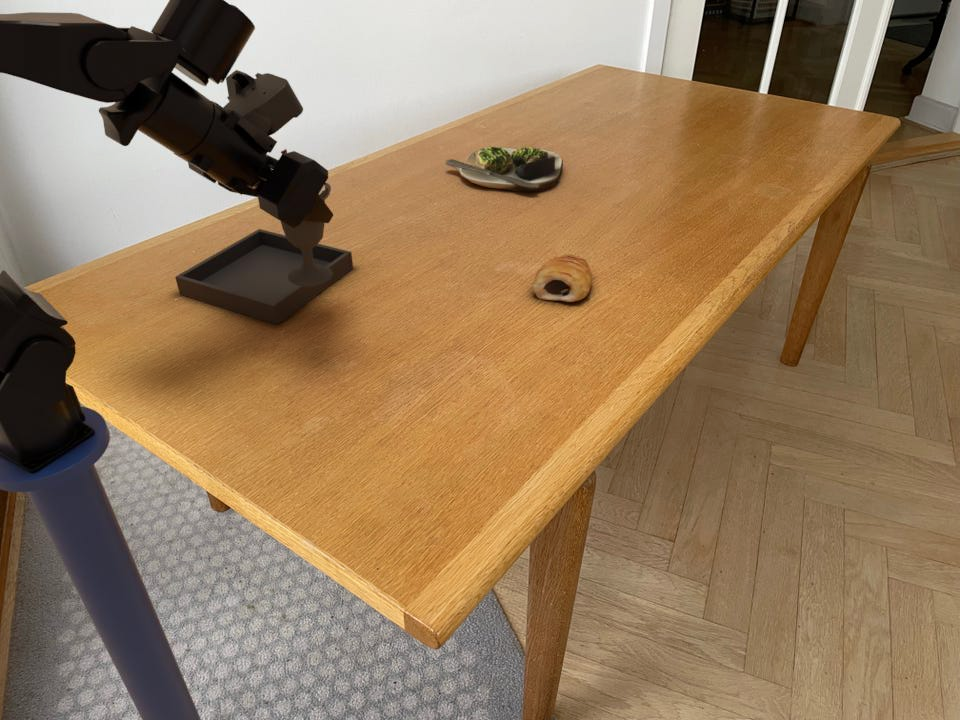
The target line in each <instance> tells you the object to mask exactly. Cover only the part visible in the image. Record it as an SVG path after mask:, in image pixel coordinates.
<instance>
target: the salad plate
mask: <svg viewBox="0 0 960 720" xmlns="http://www.w3.org/2000/svg"><path fill="white" fill-rule="evenodd" d="M444 164H445V165H446V166H448V167H450V168H453V169H455V170H456V171H458V172H459V175H460V176H461V177H462V178H464V179H465V180H467V181H469V182H470V183H473V184H475V185H478V186H481V187H482V188H483V187H484V188H488V189H497V190H505V191H512V192H527V193H533V192H541V191H545V190H548V189H551V188H552V187H553V186H554V185H555V184H556V183H557V182H558V180H559V178H560V175H561V171H562V169H563V166H564V160H563V158H562V156H561V155H559V154H558V153H557V152H553V151H550V150H547V149H546V150H545V149H541V148H536V147H532V146H529V148H528V147H526V146H524V147H521V148H512V147H511V148H509V147H501V146H500V147H499V146H490V145H488V146H486V147H482V148H479V149H476V150H473V151H472V152H470V153H469V155H468V156H467V157H466V159H465V161H464V162H462V161H459V160H456V159H452V158H449V159H446V160H445V163H444Z"/></svg>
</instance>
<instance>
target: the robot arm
mask: <svg viewBox="0 0 960 720" xmlns="http://www.w3.org/2000/svg"><path fill="white" fill-rule="evenodd" d="M255 30H256V25H255V24H254V22H253V21H252V20H251V18H249V17H248V16H247V15H246V14H245V12H243V11H242V10H241V9H240V8H238V7H237V6H236V5H233V4H232V3H231V4H230V3H229V2H227V1H226V0H168V2H167V3H166V6H165V7H164V8H163V10H162V12H161V14H160V16H159V17H158V18H157V21H156V22H155V24H154V25H153V27H152V29H151V30H150V31H147V30H145V29H141V28H139V27H136V26H133V25H132V26H130V27H117V26H114V25H112V24H109V23H106V22H104V21H100V20H98V19H95V18H93V17H89V16H88V15H84V14H82V13H76V12H42V11H41V12H39V11H37V12H36V11H35V12H34V11H33V12H31V11H30V12H17V13H0V74H5V75H9V76H11V77H12V76H13V77H16V78H18V79H23V80H26V81H30V82H33V83H36V84H38V85H42V86H45V87H48V88H51V89H54V90H57V91H61V92H64V93H68V94H71V95H74V96H79V97H82V98H85V99H89V100H93V101H96V102H100V103H104V104H111V103H113V104H111V105H109V106H102V107H99V108H98V113H99V114H100V116H101V118H102V121H103V129H104V134H105V136H106V137H107V138H109V139H110V140H112V141H114V142H116V143H117V144H118V145H119V144H120V145H121V146H123V147H127V146H129V145H130V144H131V142H132V140H133V139H134V137H135V136H136V134H137V132H138V131H139V132H140V133H142V134H143V135H144V136H147V137H148V138H150V139H151V140H153V141H154V142H156V143H158V144H159V145H161V146H163V147H164V148H165V149H167V150H169V151H170V152H172V153H173V155H175V156H177V157H179V159H182V160H183V161H185V162H187V165H188V169H190V170H191V171H192V172H195V173H196V174H198V175H200V176H201V177H202V178H204V179H206V180H208V181H209V182H211V183H213V184H216V183H217V185H218V186H219V187H222V188H223V189H225V190H226V191H228V192H230V193H235V194H239V195H241V196H244V195H245V196H250V197H254V198H257V200H258V205H259V209H260V210H262V211H263V212H265V213H267V214H268V215H270V216H272V217H273V218H275V219H277V220H278V221H280V222H281V221H282V222H283V223H285V224H287V225H289V226H290V227H292V228H295V227H297V226H299V225H300V224H301V222H302V221H305V222H319V223H324V224H329V223H330V222H331V220H332V219H333V217H334V213H333V212H332V210H331V209H330V207H329V206H328V204H327V203H326V201H325V202H324V201H323V200H322V198H321V197H320V196H319V192H320V191H321V189H322V187H323V186H324V184H325V183H327V181H328V180H329V170H328V169H327V168H325V166H323V165H322V164H320V163H319V162H318V161H316V160H315V159H313V158H311V157H308V156H306V155H304V154H303V153H300V152H297V151H296V150H294V151H290V152H287V153H285V154H282V153H281V155H280V157H279V159H277V158H275V157H273V156H271V155H268V153H269V154H270V153H272V152H273V150H274V149H275V146H276V145H277V143H278V141H277V140H276V139H274V138H273V137H272V135H273V134H275V133H277V132H278V131H280V130H281V129H282V128H284V126H286V125H287V124H288V123H289V122H290V121H291V120H293V119H294V118H295V119H296V118H298V117H299V116H301V115H302V114H303V111H304V107H303V105H302V104H301V102H300V100H299V98H298V97H297V94H296V93H295V91H294V90H293V87H292V86H291V84H290V82H289V80H287V78H284V77H281V76H278V75H275V74H273V73H269V72H266V73H259V72H257V73H256V74H255V75H254V76H255V77H253V76H251V75H249V74H248V73H246V72H243V71H241V70H238V69H236V70H234V71H232V73H230V71H231V70H232V68H233V67H234V65H235V63H236V61H237V59H238V58H239V56H240V55H241V53H242V51H244V49H245V47H246V45H247V43H248V41H249V40H250V38H251V36H252V35H253V33H254V31H255ZM174 69H175V70H177V71H178V72H179V73H181V74H183V75H184V76H185V77H187V78H189V80H192V81H193V82H195V83H197V84H199V85H200V86H203V87H207V85H208V84H209V82H210V81H211V82H213V83H215V84H217V85H219V84H220V83H221V84H223V83H224V81H226V82H225V83H226V89H227V94H228V96H227V97H226V99H227V100H228V102H227V103H226V104H225V105H224V106H221V104H220V103H217V102H216V101H214V100H211V99H209V98H208V97H207V96H205V95H203V94H202V93H201V92H200V91H198V90H197V89H195V88H194V87H193V86H191V85H190V84H189V83H187V82H186V81H185V80H183V79H182V78H181V77H179V76H178V75H177V74H175V73H174V72H173V71H174ZM229 73H230V74H229ZM68 323H69V322H68V320H66V318H65V317H64V316H63V315H62V314H61V313H60V312H59V311H58V310H57V309H56V308H55V307H54V305H52V304H51V303H50V302H49V300H47V299H46V298H45V297H44V296H43V294H42V293H40V292H36V291H33V290H29V289H27V288H25V287H24V286H22V285H21V284H20V283H19V282H18V281H16V280H15V278H13V277H12V276H11V274H9V273H8V271H6V270H2V271H0V456H1V457H2V458H4V459H6V460H8V461H9V462H11V463H13V464H15V465H16V466H18V467H20V468H22V469H23V470H25V471H27V472H29V473H31V474H33V473H37V472H39V471H40V470H42V469H43V468H45V467H46V466H48V465H49V464H51V463H52V462H54V461H55V460H57V459H58V458H60V457H62V456H63V455H65V454H66V453H68V452H69V451H71V450H72V449H74V448H75V447H77V446H78V445H80V444H81V443H83V442H84V441H86V440H87V439H89V438H90V437H92V436H93V435H95V430H94V428H92V427H90V426H88V425H86V424H84V423H82V422H84V421H85V419H86V417H85V415H84V412H83V410H82V407H83V406H82V405H81V403H80V400H79V397H78V394H77V393H76V390H75V387H74V386H73V385H71V384H70V383H68V382H67V371H68V370H69V368H70V367H71V365H72V364H73V363H74V359H75V356H76V344H77V343H76V341H75V339H74V337H73V335H71V333H70V332H69V331H68V330H67V329H66V328H65V327H64V326H66V325H68Z"/></svg>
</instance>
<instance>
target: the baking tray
mask: <svg viewBox="0 0 960 720" xmlns="http://www.w3.org/2000/svg"><path fill="white" fill-rule="evenodd" d="M312 253H313V259H314V262H315V264H316V265H323V266H326V267H328V268H329V269H331V271H332V273H333V275H332V277H331V279H329V280H328V281H327V282H325V283H323V284H320V285H316V286H298V285H295V284H293V283H291V282H290V281H289V280H288V275H289V273H290V272H291V271H292V270H293V269H295V268H297V267H300V266H302V264H303V256H302V250H301V249H299V248H297V247H295V246H294V245H292V244H291V243H290V242H289V241H288V240H287V238H286V236H285V234H281V233H277V232H275V231H274V232H273V231H269V230H265V229H260V228H258V229H257V230H255V231H252V232H251V233H249V234H247V235H246V236H244V237H242V238H240V239H239V240H237V241H235V242H234V243H231V244H230V245H228V246H226V247H224V248H223V249H221V250H220V251H218V252H216V253H214V254H212V255H210V256H209V257H207V258H206V259H204V260H202V261H201V262H199V263H196V264H195V265H193V266H192V267H189V268H188V269H186V270H185V271H182V272H181V273H179V274H177V275H176V276H175V282H176V286H177V289H178V293H179V295H180V296H182V297H183V296H184V297H187V298H190V299H193V300H196V301H200V302H203V303H205V304H210V305H213V306H215V307H219V308H222V309H226V310H230V311H232V312H236V313H239V314H242V315H246V316H248V317H251V318H254V319H258V320H262V321H264V322H268V323H271V324H274V325H279V324H280V323H282V322H283V321H284V320H285V319H287V318H288V317H290V316H291V315H292V314H293V313H295V312H297V311H298V310H299V309H301V308H302V307H303V306H305V305H306V304H307V303H309V302H310V301H311V300H313V299H314V298H316V297H317V296H318V295H320V294H321V293H322V292H324V291H326V289H328V288H329V287H330V286H332V285H333V284H335V283H337V282H338V281H339V280H341V278H343V277H344V276H346V275H347V274H348V273H350V272H351V271H352V270H354V263H353V255H352V254H353V253H352V251H349V250H345V249H342V248H338V247H333V246H329V245H327V244H326V245H325V244H322V243H318V244H317V245H316V246H315V247H314V248H313V249H312Z"/></svg>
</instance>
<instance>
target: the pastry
mask: <svg viewBox="0 0 960 720" xmlns="http://www.w3.org/2000/svg"><path fill="white" fill-rule="evenodd" d="M592 281H593V274H592V271H591V268H590V265H589V263H588V262H587V260H586V259H585V258H582V257H578V256H576V255H574V254H569V253H567V254H563V255H560V256H554V257H553V258H550V259H548V260H547V261H546V262H544V264H543V265H542V267H541V268H539V269H538V270H537V271H536V274H535V280H534V284H533V285H532V287H531V289H532V291H533V293H534V294H535V296H536V297H537V298H538V299H540V300H546V301H554V302H555V301H560V302H566V303H574V302H580V301H581V300H583V299H584V298H586V297H587V296H588V294H589V292H590V290H591V285H592Z"/></svg>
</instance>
